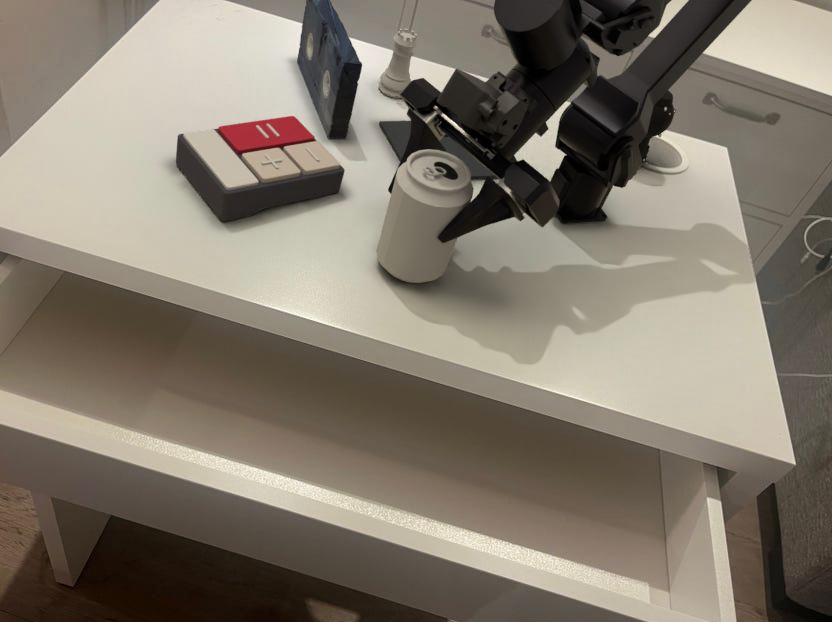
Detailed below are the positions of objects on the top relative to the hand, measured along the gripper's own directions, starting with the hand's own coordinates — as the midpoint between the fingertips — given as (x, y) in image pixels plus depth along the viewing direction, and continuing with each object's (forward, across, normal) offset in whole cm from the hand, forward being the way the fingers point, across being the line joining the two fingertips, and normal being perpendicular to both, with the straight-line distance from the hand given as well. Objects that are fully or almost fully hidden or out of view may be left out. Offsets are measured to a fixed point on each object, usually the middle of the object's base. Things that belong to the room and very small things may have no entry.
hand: (414, 216), depth 74 cm
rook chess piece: (-10, -29, +21) cm, 37 cm away
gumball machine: (-25, -4, +36) cm, 44 cm away
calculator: (+9, -19, +1) cm, 21 cm away
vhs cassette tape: (-3, -30, +13) cm, 33 cm away
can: (+4, 0, +6) cm, 7 cm away
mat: (-9, -15, +19) cm, 26 cm away
